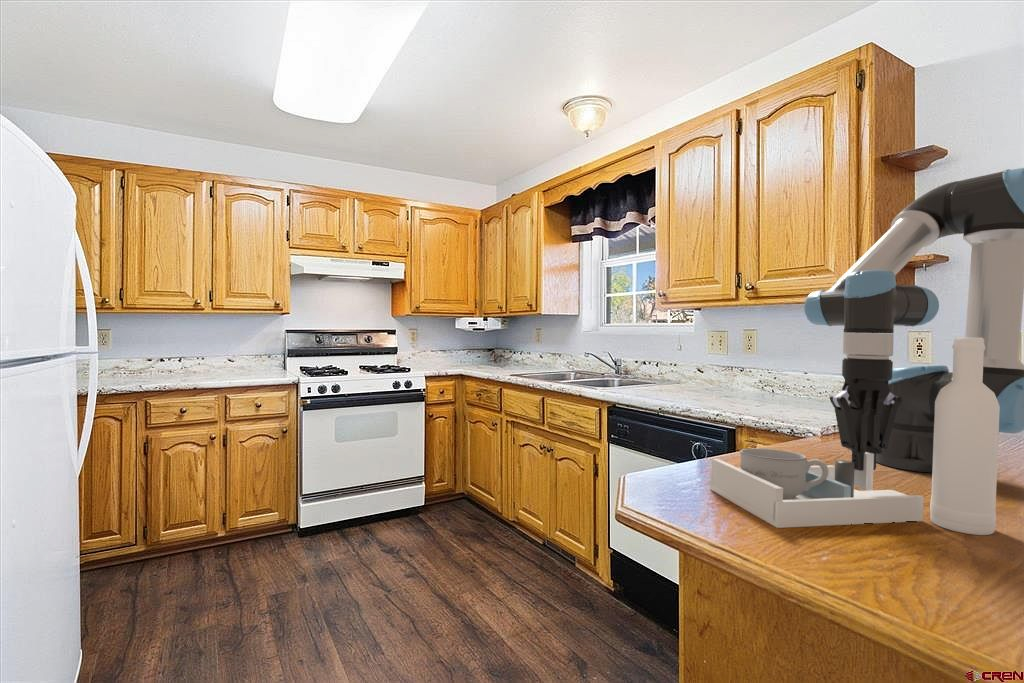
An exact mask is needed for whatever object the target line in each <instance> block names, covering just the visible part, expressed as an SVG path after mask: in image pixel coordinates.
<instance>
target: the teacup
mask: <svg viewBox="0 0 1024 683" xmlns="http://www.w3.org/2000/svg"><path fill="white" fill-rule="evenodd" d="M739 454H740V467H739V468H740V469H742V470H744V471H746V472H748V473H750V474H753V475H755V476H757V477H759V478H761V479H764V480H766V481H768V482H770V483H772V484H775V485H777V486H779V487H781V488H783V500H792V499H794V498H795V497H796V496H797V495H799V494H800V493H802V492H803V491H804V492H805V491H808V490H809V489H810V487H813V486H816V485H818V484H820V483H822V482H823V481H825V480H826V479H827V477H828V474H829V470H828V467H827V463H825V462H824V461H822V460H821V459H818V458H811V459H809V460H807V458H808V457H807V456H806V455H804V454H802V453H797V452H794V451H789V450H782V449H775V448H755V447H754V448H753V447H752V448H743V449H740V450H739ZM811 466H820V467H821V469H822V474H821V476H820V477H819V478H817V479H815V480H812V481H808V482H806V481H805V479H806V473H808V471H809V468H810V467H811Z"/></svg>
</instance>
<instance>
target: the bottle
mask: <svg viewBox="0 0 1024 683" xmlns="http://www.w3.org/2000/svg"><path fill="white" fill-rule="evenodd" d="M951 346H952V350H953V356H952V373H953V379H952V381H951V382H950V383H949V384H947V385H946V386H944V387H943V388H941V390H940V392H939V393H938V395H937V398H936V400H935V416H934V442H933V468H932V473H931V474H932V475H931V498H930V504H929V509H930V510H929V511H930V521H931V522H932V523H933V524H934V525H936V526H938V527H941V528H944V529H945V530H949V531H953V532H957V533H961V534H966V535H974V536H989V535H992V534H994V533H995V532H996V531H995V530H996V523H997V512H996V510H997V508H996V507H997V506H996V505H997V484H998V481H997V480H998V460H999V459H998V457H999V433H1000V432H999V413H1000V406H999V403H998V400H997V398H996V396H995V393H994V392H993V391H992V390H990V389H989V388H988V387H987V386H986V385H985V384H983V383H982V382H983V357H984V350H985V345H984V339H983V338H966V337H965V336H964V337H962V336H961V337H959V336H958V337H955V338H954V339H953V345H951Z"/></svg>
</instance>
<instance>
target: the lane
mask: <svg viewBox="0 0 1024 683" xmlns="http://www.w3.org/2000/svg"><path fill="white" fill-rule="evenodd" d="M826 465H827V464H826ZM827 467H828V470H829V474H828V477H827V478H830V479H833V480H834V479H835V465H830V464H828V465H827ZM809 471H811V472H814V473H817V474H819V475H821V474H822V469H821V467H820V466H818V465H812V466H811V467H810V468H809ZM709 472H710V475H709V478H710V479H709V480H710V481H709V489H710V490H711V491H712V492H714V493H716V494H718V495H719V496H721V497H723V498H724V499H726V500H728V501H730V502H731V503H733V504H735V505H737V506H738V507H740V508H741V509H743V510H745V511H747V512H749V513H750V514H752V515H754V516H756V517H757V518H759V519H761V520H762V521H764V522H766V523H768V524H770V525H771V526H773V527H775V528H776V529H778V528H780V529H783V528H784V529H785V528H803V527H807V528H808V527H825V526H827V527H828V526H845V525H846V526H849V525H851V524H852V525H865V524H864V523H873V524H889V523H890V524H891V523H892V522H895V523H907V522H906V521H917V522H923V521H924V501H925V500H924V496H922V495H919V494H911V495H910V494H909V495H908V494H905V493H902V492H900V491H897V490H894V489H879V490H878V489H877V490H875V489H873V490H857V489H856V488H854V497H848V498H821V499H816V498H813V497H811V496H809V495H807V494H804V493H800V494H799V495H797V496H796V497H795V498H794V499H792V500H783V488H781V487H779V486H777V485H775V484H772V483H770V482H768V481H766V480H764V479H761V478H759V477H757V476H755V475H753V474H750V473H748V472H746V471H744V470H742V469H740V467H737V466H735V465H733V464H730V463H728V462H726V461H724V460H722V459H719V458H712V459H711V468H710V471H709Z"/></svg>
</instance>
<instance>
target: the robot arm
mask: <svg viewBox="0 0 1024 683" xmlns="http://www.w3.org/2000/svg"><path fill="white" fill-rule="evenodd" d="M961 234H963V237H962V238H963V240H964V241H965V242H966V243H967V244H969V245H970V247H971V254H970V264H969V265H970V266H969V267H970V268H969V280H968V294H967V307H966V321H965V333H964V334H965V335H964V337H966V338H983V339H984V345H985V350H984V357H983V382H982V383H983V384H985V385H986V386H987V387H988V388H989V389H990V390H992V391H993V392H994V393H995V396H996V398H997V400H998V403H999V406H1000V413H999V433H1003V434H1018V433H1020V432H1021V433H1022V432H1023V431H1024V364H1023V363H1022V362H1021V361H1020V349H1021V348H1020V345H1021V334H1022V333H1021V331H1022V318H1023V306H1024V167H1021V168H1020V167H1019V168H1015V169H1004V170H1003V171H999V172H995V173H989V174H985V175H980V176H976V177H971V178H966V179H962V180H956V181H952V182H948V183H945V184H942V185H939V186H937V187H936V188H933V189H931V190H930V191H928V192H926V193H924V194H923V195H921V196H920V197H918V198H916V199H915V200H913V201H912V202H911V203H910V204H908V205H906V207H904V208H903V209H902V210H901V211H900V213H898V214H896V216H894V217H893V219H892V221H891V223H890V228H889V229H888V230H887V232H885V233H884V234H883V235H882V236H881V237H879V239H878V240H877V241H876V242H875V243H874V244H873V245H872V246H871V247H870V248H869V249H868V250H867V251H866V252H865V253H864V254H863V255H862V256H861V257H860V258H858V260H857V261H856V262H855V263H854V264H853V265H851V266H850V268H849V269H848V270H847V271H846V272H845V273H844V274H843V275H842V276H841V277H840V278H839V279H838V280H837V281H836V282H835V283H834V284H833V285H832V286H831V287H830V288H828V289H820V290H815V291H812V292H810V294H809V293H808V295H807V296H806V298H805V302H804V305H803V306H804V308H803V310H804V315H805V316H806V319H807V321H809V323H811V324H813V325H816V326H828V327H832V326H833V327H834V326H837V327H838V326H840V327H841V326H843V336H842V338H843V339H842V340H843V341H842V343H843V344H842V354H843V355H846V357H843V359H842V364H841V365H842V366H841V376H842V377H843V379H844V382H843V385H842V389H841V392H840V393H838V394H836V395H834V394H831V395H830V396H829V401H830V403H831V404H832V406H833V407H834V413H835V417H836V418H835V419H836V423H837V427H838V428H837V429H838V433H839V438H840V445H841V447H842V448H846V449H848V450H850V451H851V462H854V463H855V472H854V488H855V487H856V488H858V489H860V490H862V491H871V490H874V471H876V469H877V464H881V465H883V466H887V467H891V468H895V469H901V470H907V471H913V472H919V473H931V474H932V468H933V442H934V416H935V400H936V398H937V395H938V393H939V392H940V390H941V388H943V387H944V386H946V385H947V384H949V383H950V382H951V381H952V379H953V371H952V372H951V371H950V370H949V368H948V366H947V365H945V364H943V365H942V364H941V365H922V366H921V365H920V366H902V367H893V366H894V364H893V361H892V359H890V357H892V356H894V337H895V336H894V331H895V330H894V328H895V327H894V326H898V327H899V326H900V327H901V326H902V327H903V326H904V327H917V326H923V325H927V323H930V322H931V321H932V320H934V318H935V317H937V314H938V312H939V310H940V301H939V298H938V296H937V295H936V293H935V292H933V291H932V290H931V289H929V288H927V287H923V286H919V285H917V284H916V285H915V284H913V285H909V284H908V285H903V284H897V281H896V275H898V273H899V272H900V271H901V270H902V269H903V268H904V267H905V266H906V265H907V264H908V263H909V262H910V261H911V260H912V259H913V258H914V257H915V256H916V255H917V253H918V252H920V251H921V249H923V248H927V247H929V246H931V245H932V244H934V243H935V242H936V241H937V240H938V239H941V238H944V237H948V236H952V235H961Z"/></svg>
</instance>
